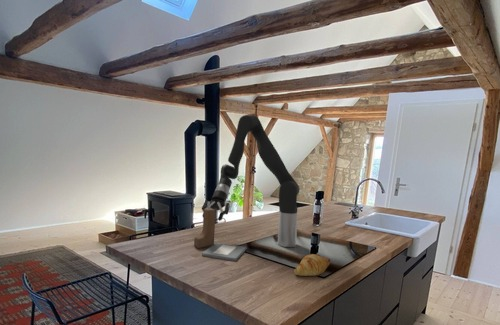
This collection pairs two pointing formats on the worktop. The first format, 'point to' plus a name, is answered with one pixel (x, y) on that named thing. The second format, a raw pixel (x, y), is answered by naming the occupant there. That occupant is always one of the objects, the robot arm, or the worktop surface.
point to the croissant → (312, 265)
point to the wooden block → (206, 230)
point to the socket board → (224, 251)
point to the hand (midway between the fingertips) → (211, 219)
